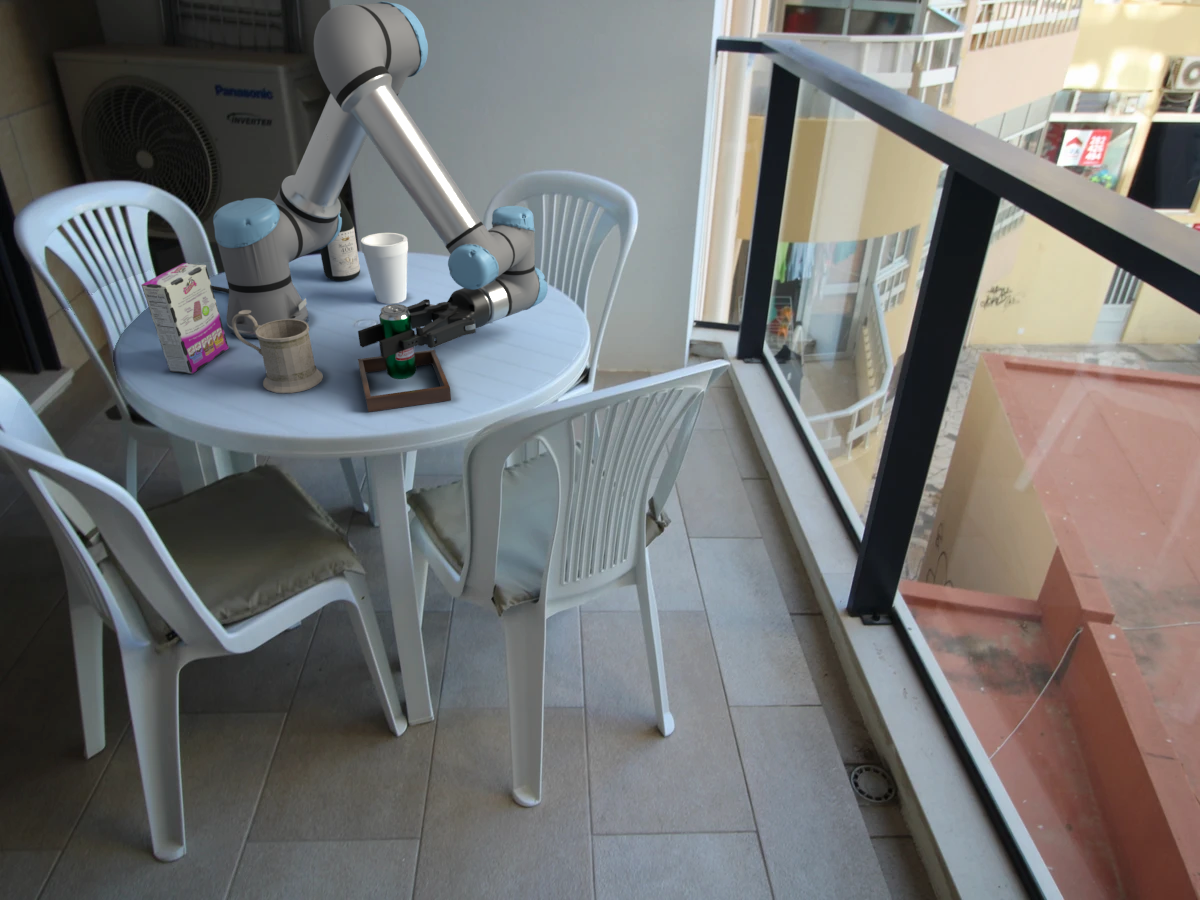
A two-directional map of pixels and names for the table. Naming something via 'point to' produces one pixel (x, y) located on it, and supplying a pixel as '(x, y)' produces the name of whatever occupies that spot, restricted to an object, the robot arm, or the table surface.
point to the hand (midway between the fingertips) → (371, 344)
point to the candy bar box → (186, 317)
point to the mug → (284, 354)
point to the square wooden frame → (408, 396)
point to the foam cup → (387, 265)
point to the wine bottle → (342, 251)
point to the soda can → (392, 324)
